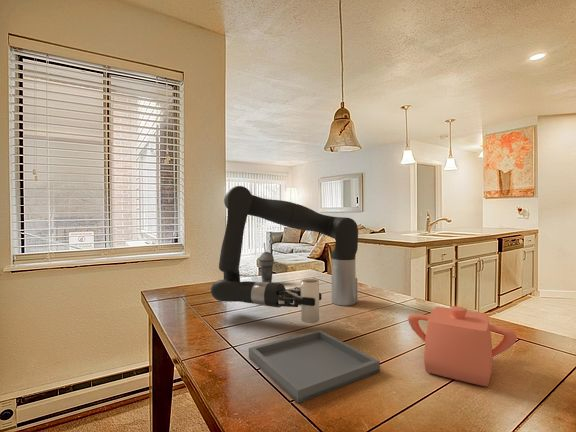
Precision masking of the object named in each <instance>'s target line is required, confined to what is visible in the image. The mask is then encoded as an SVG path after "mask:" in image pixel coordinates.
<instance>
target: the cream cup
mask: <svg viewBox="0 0 576 432" xmlns="http://www.w3.org/2000/svg"><path fill="white" fill-rule="evenodd" d="M300 288H301V297H302V298H303V297H308V298H315V305H314V306H308V305H303V304H302V306H300V310H301V311H300V312H301V318H300V320H301V322H304V323H306V324H307V323H308V324H315V323H317V322H319V321H320V300H319V293H320V280H319V279H316V278H304V279H303V278H302V279H301V280H300Z"/></svg>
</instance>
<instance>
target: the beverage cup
mask: <svg viewBox="0 0 576 432" xmlns="http://www.w3.org/2000/svg"><path fill="white" fill-rule="evenodd" d="M263 247H264V251H263V252H261V254H260V255H259V260H258V261H259V265H260V273H261V276H260V277H261V282H271V283H273V282H272V280H273V271H274V270H273V269H274V267H273V266H274V263H275V259H274V258H275V257H274V255H273V254H272V253H271V252H269V251H266V243H265V242H263Z"/></svg>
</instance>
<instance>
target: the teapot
mask: <svg viewBox="0 0 576 432" xmlns="http://www.w3.org/2000/svg"><path fill="white" fill-rule="evenodd" d="M407 320H408V321H407V322H408V324H409V326H410V327H411V329H412V331H414V333H415V334H416V335H417V336H418V337H419V338H420V339H421V340H422V341H423V342H424V352H423V354H424V358H423V360H424V368H425V371H426V373H429V374H433V375H436V376H439V377H443V378H448V379H452V380H456V381H460V382H464V383H468V384H474V385H477V386H481V387H488V386H489V385H490V381H491V376H492V371H493V363H494V361H493V360H494V357H497V356H498V355H501V354H502V353H504V352H505V351H507V350H508V349H510V348H511V347H513V345H514V344H516V342H517V339H518V336H517V333H516V332H514V331H513V330H512V329H509V328H506V327H502V326H499V325H492V324H490V319H489V315H488V314H487V313H485V312H480V311H479V312H477V311H473V310H468V309H467V308H464V307H463V306H458V305H457V306H456V305H455V306H450V307H444V306H435V307H434V308H433V309H432V310H431V312H430V314H429V315H428V314H421V313H414V314H410V315H409V316H408V317H407ZM419 321H427V323H426V329H425V330H426V331H425V332H424V331H423V329H422V328H421V326H420V324H419ZM491 332H492V333H499V334H501V335H502V336H503V338H502V340H500V341H501V342H500V343H499V344H497V346H495V347H494V348H493V343H492V334H491Z"/></svg>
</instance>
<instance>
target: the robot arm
mask: <svg viewBox="0 0 576 432" xmlns="http://www.w3.org/2000/svg"><path fill="white" fill-rule="evenodd" d="M223 203H224V206H225V208H226V209H227V216H226V217H227V220H226V225H225V226H226V227H225V230H224V231H225V232H224V235H223V240H222V243H221V247H220V254H219V260H218V261H219V263H218V270H219V271H220V272H223V278H222V279H219V280H216V281H215V282H213V283H212V285H211V286H210V293H211V296H212V297H213V299H215V300H216V301H219V302H228V303H229V302H230V303H231V302H233V303H234V302H237V303H239V302H240V303H246V304H251V305H252V304H253V305H258V306H264V307H271V308H281V307H285V308H289V307H290V308H298V307H299V306H300V307H301V306H302V304H303V305H308V306H314V305H315V298H308V297H303V298H302V297H301V287H297V286H295V287H294V288H288V289H286V287H285V285H284V283H280V282H262V281H250V280H249V281H247V280H246V281H241V276H240V274H241V273H240V264H241V256H242V250H243V249H242V247H243V239H244V233H245V228H246V227H245V226H246V224H247V223H246V222H247V218H248V216H252V217H257V218H261V219H263V220H266V221H268V222H271V223H274V224H277V225H280V226H284V227H288V228H291V229H294V230H299V231H306V232H307V231H309V232H313V233H314V232H315V233H319V234H322V235H323V236H327V237H329V238H332V239H334V240H335V242H334V243H335V244H334V246H335V247H334V249H333V250H332V251H331V303H332V304H334V305H336V306H343V307H344V306H352V305H355V304H356V303H358V277H356V272H357V271H356V254H357V252H358V248H359V247H358V245H359V227H358V224H357V222H356V220H354V219H353V218H351V217H345V216H344V217H341V216H334V215H333V216H332V215H327V214H323V213H319V212H317V211H315V210H313V209H311V208H310V207H307V206H305V205H302V204H298V203H295V202H291V201H287V200H279V199H270V198H264V197H260V196H257V195H255V194H252V192H251V191H250V190H249V188H247V187H246V186H244V185H236V186H233V187H232V188H230V189H229V190H228V191H227V192H226V194H225V196H224V200H223ZM322 296H323V295H322V293H321V292H319V301H321V300H322Z"/></svg>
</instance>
